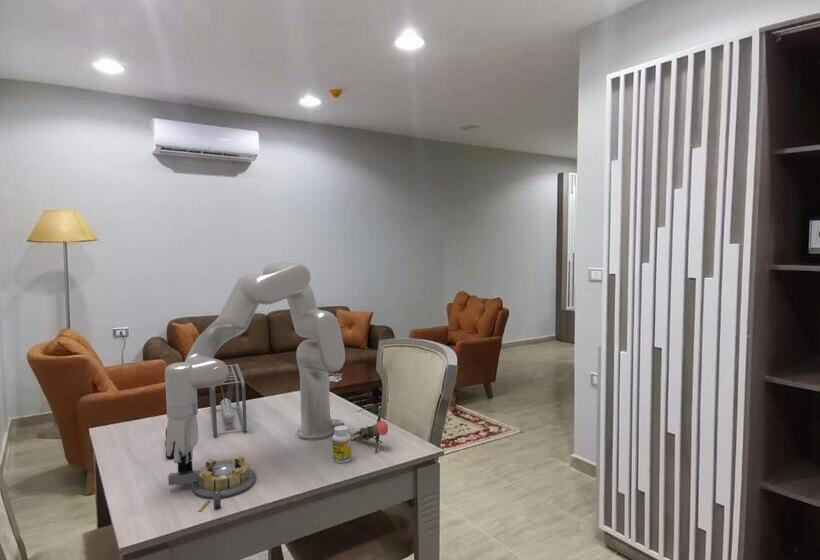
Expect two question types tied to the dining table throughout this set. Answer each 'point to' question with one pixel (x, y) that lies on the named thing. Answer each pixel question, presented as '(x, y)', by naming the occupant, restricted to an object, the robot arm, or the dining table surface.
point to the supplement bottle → (341, 444)
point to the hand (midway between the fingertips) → (185, 476)
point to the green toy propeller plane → (373, 429)
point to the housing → (217, 495)
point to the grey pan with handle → (209, 480)
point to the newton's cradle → (229, 403)
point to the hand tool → (166, 450)
